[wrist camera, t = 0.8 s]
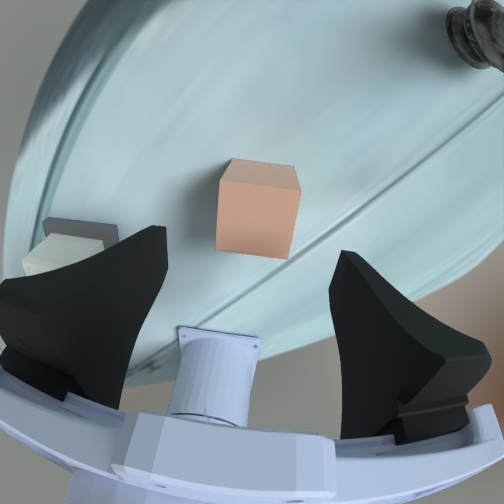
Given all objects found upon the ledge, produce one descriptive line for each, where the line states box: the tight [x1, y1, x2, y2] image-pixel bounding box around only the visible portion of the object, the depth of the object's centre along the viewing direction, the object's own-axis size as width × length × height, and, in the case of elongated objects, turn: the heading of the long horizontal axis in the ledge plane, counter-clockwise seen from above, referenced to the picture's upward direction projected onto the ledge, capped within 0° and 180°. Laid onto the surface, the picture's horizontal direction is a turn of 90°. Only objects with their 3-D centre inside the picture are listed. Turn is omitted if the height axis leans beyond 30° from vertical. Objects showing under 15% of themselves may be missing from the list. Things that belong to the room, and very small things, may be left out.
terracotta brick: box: [215, 158, 301, 260], centre depth 17 cm, size 4×4×5 cm
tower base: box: [21, 217, 119, 276], centre depth 20 cm, size 8×8×6 cm
